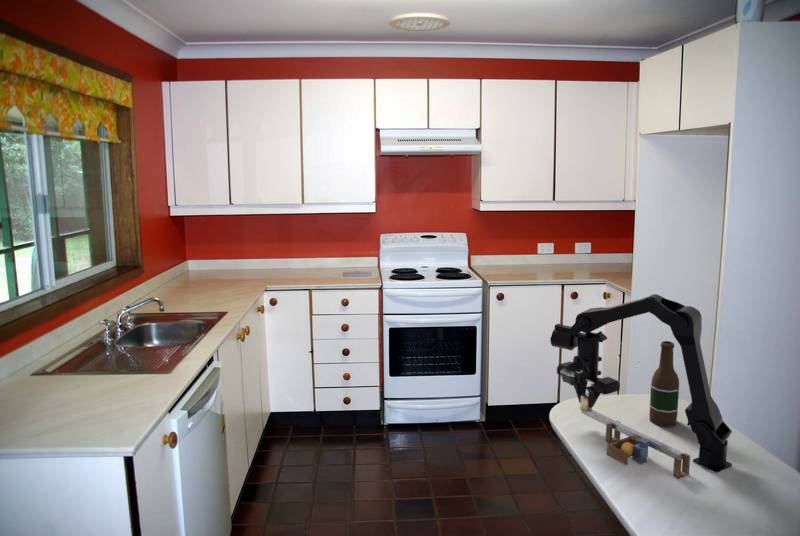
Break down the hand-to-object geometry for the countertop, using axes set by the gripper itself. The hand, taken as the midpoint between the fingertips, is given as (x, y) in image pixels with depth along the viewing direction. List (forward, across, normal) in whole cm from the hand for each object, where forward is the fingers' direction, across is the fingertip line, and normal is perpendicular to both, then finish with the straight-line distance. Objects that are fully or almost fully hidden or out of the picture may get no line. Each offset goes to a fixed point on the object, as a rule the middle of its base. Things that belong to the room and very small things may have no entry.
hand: (586, 405), depth 169 cm
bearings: (+6, +20, 0) cm, 21 cm away
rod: (+6, +14, -1) cm, 16 cm away
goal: (+6, +18, -3) cm, 19 cm away
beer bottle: (+7, +10, +21) cm, 24 cm away
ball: (+5, +18, -3) cm, 19 cm away
